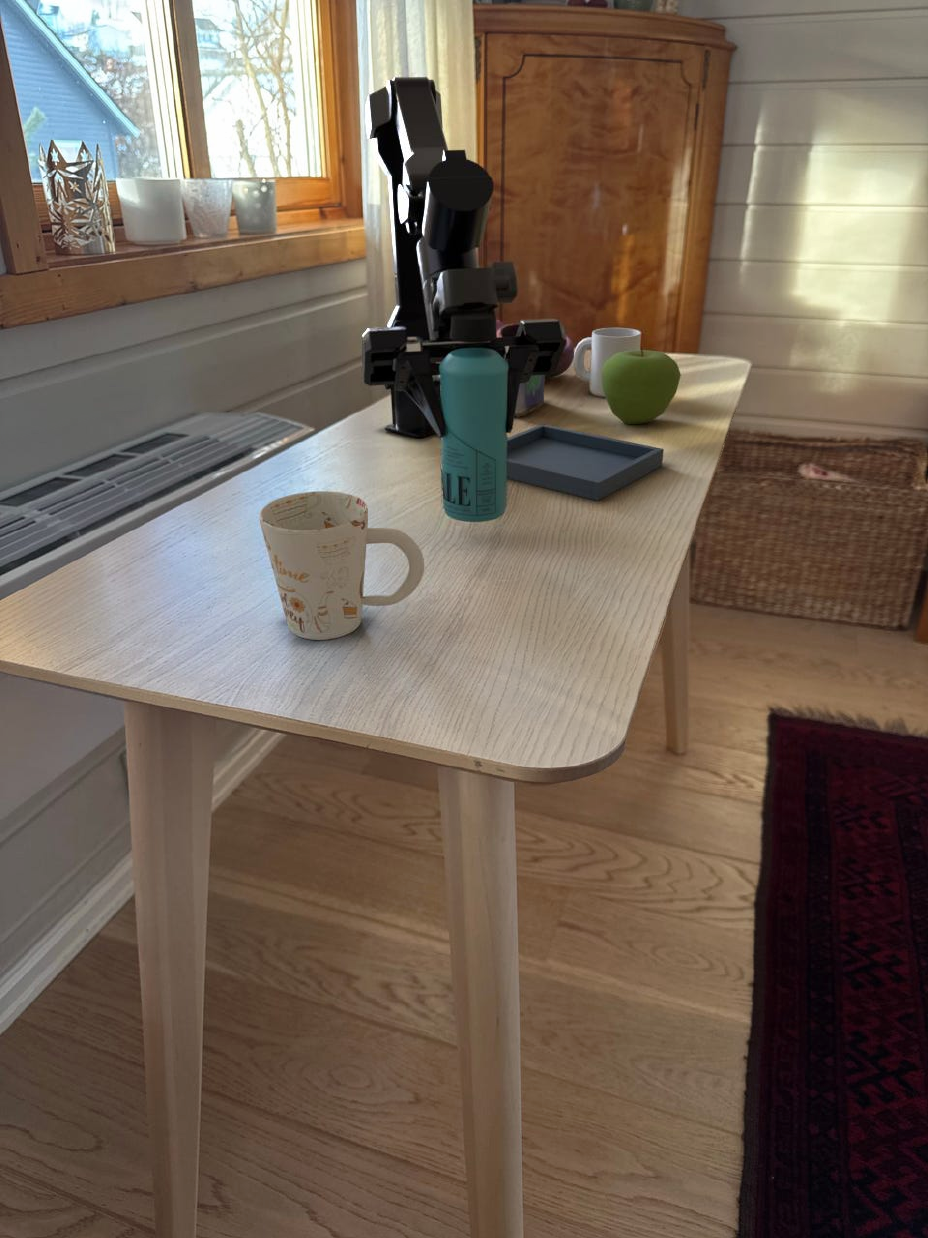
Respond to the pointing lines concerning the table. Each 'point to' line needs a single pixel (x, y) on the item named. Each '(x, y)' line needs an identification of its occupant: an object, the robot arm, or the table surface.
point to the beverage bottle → (474, 423)
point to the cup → (603, 353)
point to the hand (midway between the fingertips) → (475, 433)
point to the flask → (530, 395)
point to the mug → (328, 561)
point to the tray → (578, 461)
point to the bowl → (565, 357)
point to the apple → (639, 384)
